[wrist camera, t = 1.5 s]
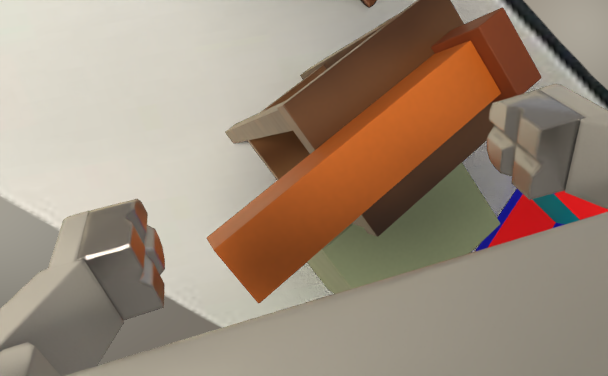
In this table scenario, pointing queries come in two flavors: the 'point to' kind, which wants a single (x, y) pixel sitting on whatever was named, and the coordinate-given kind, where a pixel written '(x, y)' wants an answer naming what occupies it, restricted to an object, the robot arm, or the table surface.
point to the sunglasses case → (369, 2)
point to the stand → (364, 106)
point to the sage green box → (410, 237)
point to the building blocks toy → (538, 216)
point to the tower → (373, 153)
